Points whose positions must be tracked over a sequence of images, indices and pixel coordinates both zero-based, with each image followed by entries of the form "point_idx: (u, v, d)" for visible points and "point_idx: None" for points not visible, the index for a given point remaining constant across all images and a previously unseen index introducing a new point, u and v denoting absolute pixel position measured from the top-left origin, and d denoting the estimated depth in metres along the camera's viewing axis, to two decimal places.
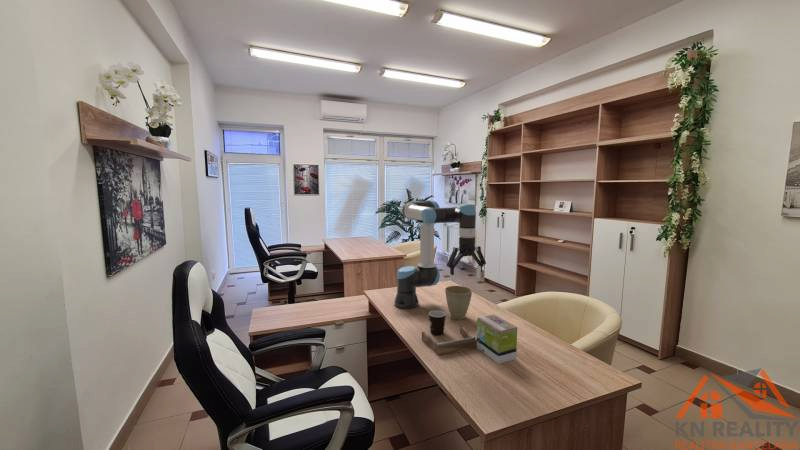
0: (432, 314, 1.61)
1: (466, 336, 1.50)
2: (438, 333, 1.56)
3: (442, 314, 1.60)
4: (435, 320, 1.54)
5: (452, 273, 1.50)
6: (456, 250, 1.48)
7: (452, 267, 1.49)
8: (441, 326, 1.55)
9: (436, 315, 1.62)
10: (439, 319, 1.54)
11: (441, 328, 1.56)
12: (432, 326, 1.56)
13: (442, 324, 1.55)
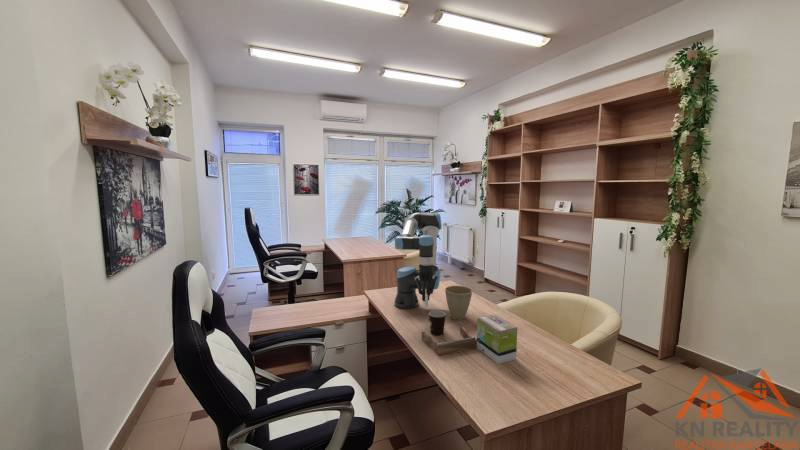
0: (432, 314, 1.61)
1: (466, 336, 1.50)
2: (438, 333, 1.56)
3: (442, 314, 1.60)
4: (435, 320, 1.54)
5: (423, 299, 1.72)
6: (417, 280, 1.69)
7: (423, 295, 1.71)
8: (441, 326, 1.55)
9: (436, 315, 1.62)
10: (439, 319, 1.54)
11: (441, 328, 1.56)
12: (432, 326, 1.56)
13: (442, 324, 1.55)
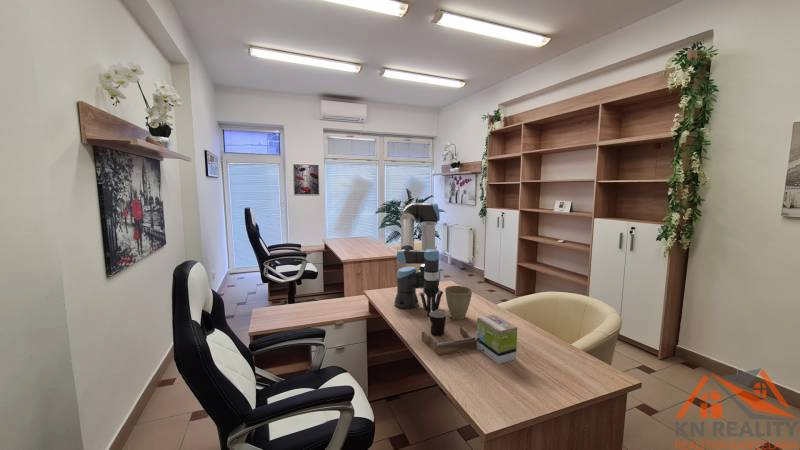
0: (432, 314, 1.61)
1: (466, 336, 1.50)
2: (438, 333, 1.55)
3: (442, 314, 1.60)
4: (435, 320, 1.54)
5: None
6: (422, 295, 1.63)
7: (429, 311, 1.65)
8: (441, 326, 1.55)
9: (436, 315, 1.61)
10: (440, 319, 1.53)
11: (441, 328, 1.55)
12: (432, 326, 1.55)
13: (442, 324, 1.55)
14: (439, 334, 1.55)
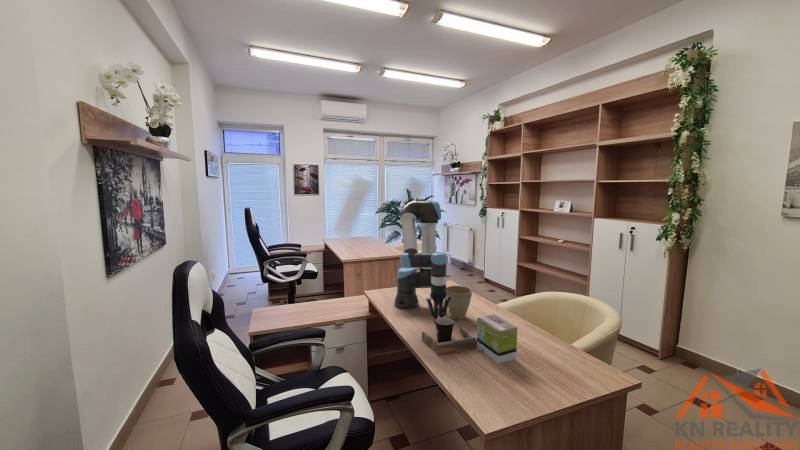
0: (439, 321, 1.53)
1: (466, 336, 1.50)
2: None
3: (450, 321, 1.51)
4: (442, 327, 1.45)
5: None
6: (429, 301, 1.55)
7: (436, 317, 1.57)
8: (448, 334, 1.46)
9: (444, 322, 1.53)
10: (446, 327, 1.45)
11: (448, 336, 1.47)
12: (439, 334, 1.47)
13: (449, 332, 1.46)
14: None
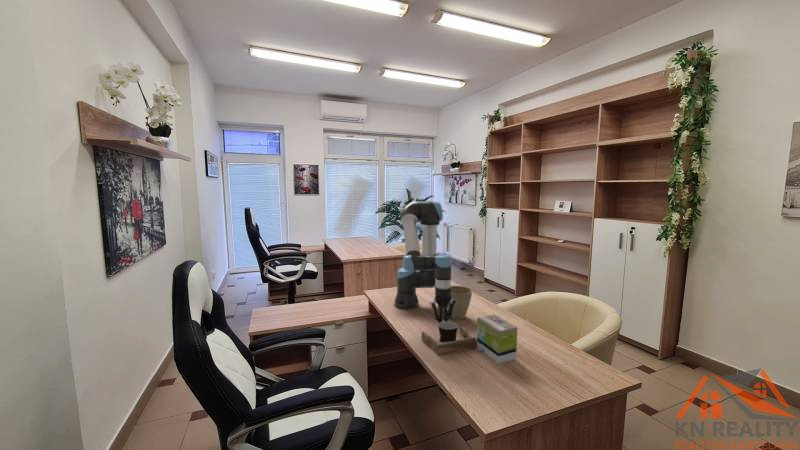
0: (443, 325, 1.48)
1: (466, 336, 1.50)
2: None
3: (454, 326, 1.46)
4: (444, 332, 1.41)
5: None
6: (433, 305, 1.50)
7: (440, 321, 1.52)
8: (451, 339, 1.42)
9: (448, 326, 1.48)
10: (449, 331, 1.40)
11: None
12: (441, 338, 1.43)
13: (452, 337, 1.42)
14: None
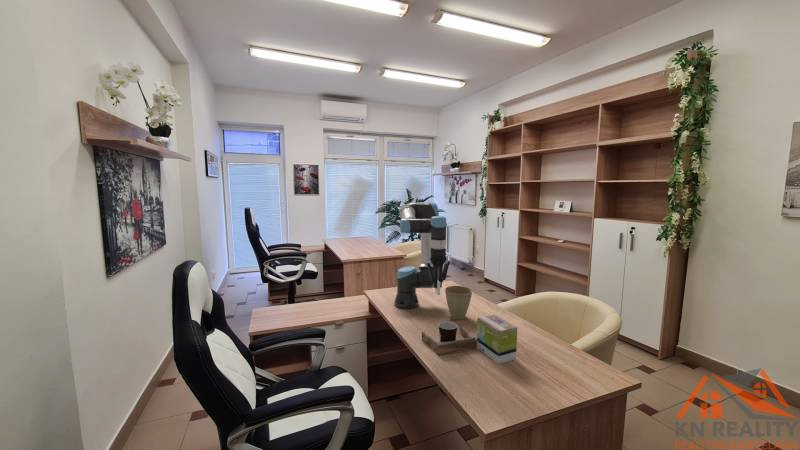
0: (443, 325, 1.48)
1: (466, 336, 1.50)
2: None
3: (454, 326, 1.46)
4: (444, 332, 1.41)
5: (435, 286, 1.57)
6: (429, 265, 1.54)
7: (435, 281, 1.56)
8: (451, 339, 1.42)
9: (448, 326, 1.48)
10: (449, 331, 1.40)
11: None
12: (441, 338, 1.43)
13: (452, 337, 1.42)
14: None
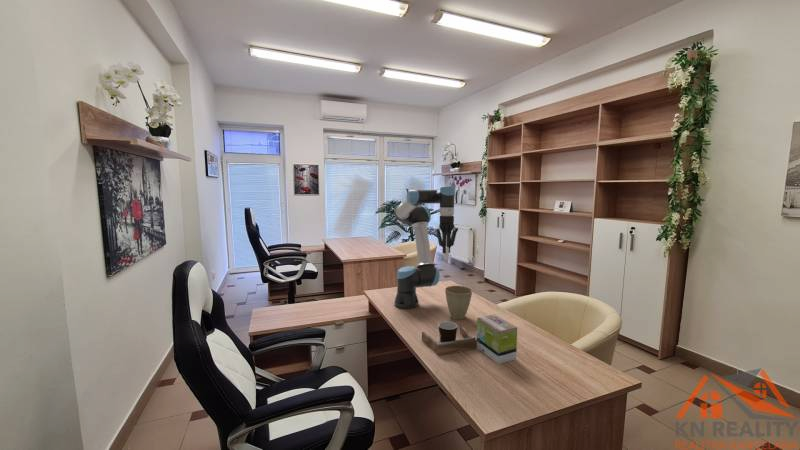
0: (443, 325, 1.48)
1: (466, 336, 1.50)
2: None
3: (454, 326, 1.46)
4: (444, 332, 1.41)
5: (444, 251, 1.69)
6: (438, 231, 1.66)
7: (444, 247, 1.68)
8: (451, 339, 1.42)
9: (448, 326, 1.48)
10: (449, 331, 1.40)
11: None
12: (441, 338, 1.43)
13: (452, 337, 1.42)
14: None
